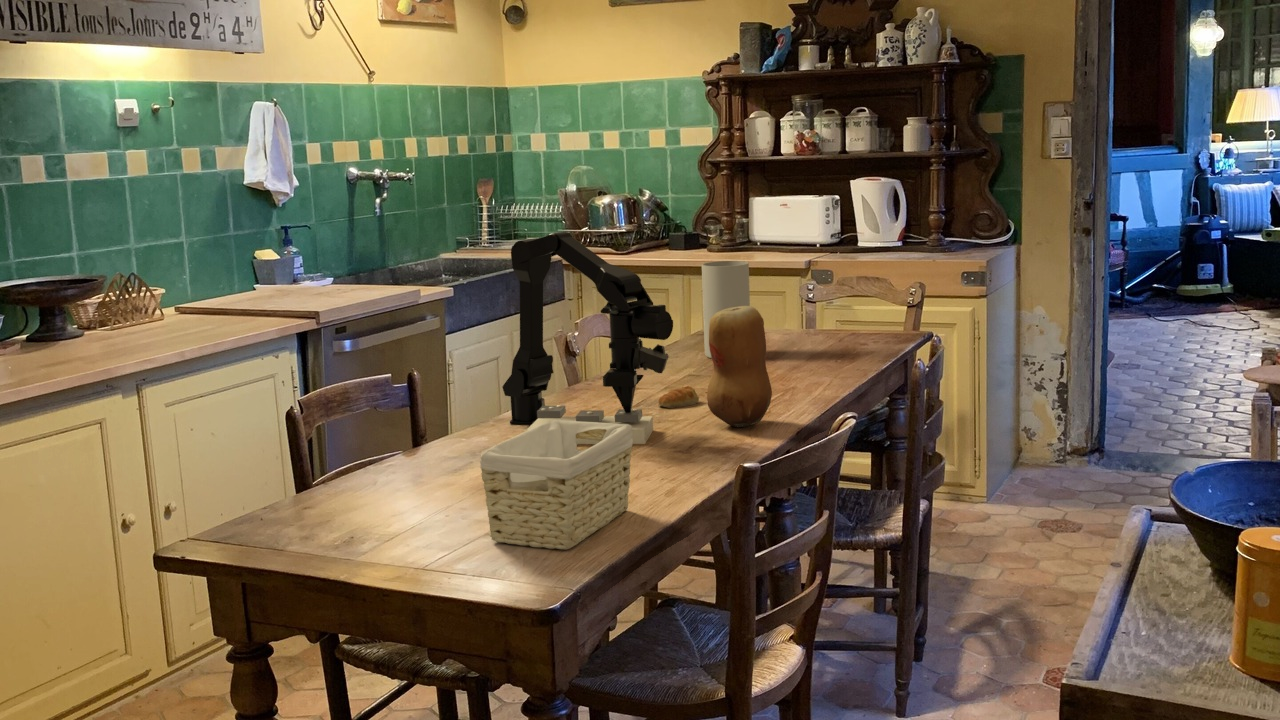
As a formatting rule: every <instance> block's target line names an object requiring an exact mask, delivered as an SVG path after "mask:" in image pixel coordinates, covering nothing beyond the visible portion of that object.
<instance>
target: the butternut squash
mask: <svg viewBox="0 0 1280 720" xmlns="http://www.w3.org/2000/svg"><path fill="white" fill-rule="evenodd" d="M764 321H765V320H764V318H763V317H762V315H761V313H760V311H759V310H758V309H757V308H756V307H753V306H751V305H750V306H740V307H732V308H727V309H724V310H722V311H720V312H717V313H716V314H715V315H713V316H712V318H711V320H710V324H709V347H710V353H711V357H712V359H711V360H712V363H713V364H712V365H713V372H712V374H711V376H710V379H709V382H708V385H707V391H706V399H707V407H708V409H709V410H710V412H711V413H712V414H713V415H714V416H715V417H716V418H718V419H719V420H721V421H723V422H724V423H725V424H726V425H729V426H731V427H734V428H741V427H744V428H745V427H749V425H750V426H752V425H755V424H758V423H760V422H761V420H762V419H763V418H764V416H765V415H766V413H767V411H768V409H769V407H770V404H771V401H772V398H773V397H772V395H773V390H772V389H773V388H772V385H771V381H770V377H769V373H768V370H767V363H766V362H767V361H766V357H767V356H766V354H767V353H766V352H767V341H766V332H765V326H764V325H765V322H764Z"/></svg>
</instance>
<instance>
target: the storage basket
mask: <svg viewBox="0 0 1280 720" xmlns="http://www.w3.org/2000/svg"><path fill="white" fill-rule="evenodd" d="M576 438H580V439H589V440H597V441H601V442H599V443H597V444H593V445H592V446H590V447H589V448H588V447H587V448H584V449H578V444H577V441H576ZM633 445H634V444H633V439H632V426H631V425H629V424H613V423H598V422H580V421H562V420H554V421H552V422H548V423H544V424H541V425H539V426H536V427H534V428H532V429H529V430H527V429H526V430H525V431H523V432H521V433H519V434H517V435H515V436H513V437H510V438H508V439H506V440H503V441H501V442H499V443H496V444H495V445H493V446H491V447H490V448H488V449H487V450H484V451H483V453H481V454H480V461H479V462H480V465H479V466H480V469H481V473H480V474H481V480H482V482H483V489H484V491H485V493H484V494H485V502H486V507H487V518H488V523H489V532H490V535H489V537H490V538H491V540H492V541H493V542H496V543H506V544H509V545H518V546H530V547H532V548H545V549H550V550H551V549H558V550H565V551H566V550H570V549H572V548H573V547H575V546H577V545H578V544H580V542H582V541H584V540H585V539H586V538H588V537H589V536H592V535H593V534H594V533H596V531H599V530H600V529H601V528H603V527H605V526H607V525H608V524H610V523H611V521H613V520H615V518H616V517H618V516H621V515H622V514H623V513H624V512H626V511H627V510H628V508H629V495H628V494H629V491H630V482H631V480H630V479H631V477H630V474H631V460H632V459H631V458H632V456H631V453H632V451H633V450H632V448H633Z"/></svg>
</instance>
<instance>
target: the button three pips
mask: <svg viewBox="0 0 1280 720" xmlns="http://www.w3.org/2000/svg"><path fill="white" fill-rule="evenodd" d="M566 409H567V408H566V405H560V404H559V405H558V404H557V405H545V406H542V407H541V408H540V409H539V410H538V411H537V418H561V417H564V415H565V414H566V412H567V410H566Z"/></svg>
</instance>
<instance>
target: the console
mask: <svg viewBox="0 0 1280 720" xmlns="http://www.w3.org/2000/svg"><path fill="white" fill-rule="evenodd" d="M653 418H654V416H653V415H649V416H648V415H647V416H646V415H642V418H641V419H640V421H639V422H615V415H614V416H613V415H612V416H611V415H610V416H607V415H606V416H605V415H604V418H603V419H602V421H601V422H600V423H613V424H629V425H631V426H632V439H633V444H632V445H645V444H646V443H647V442H648V439H649V438H650V437H651V434H652V433H653V431H654V419H653ZM554 420H562V421H576V416H562V417H561V418H538V419H537V420H536V421H535V422H534V423H533V424H530V426H529V427H527V428H526V431H527V430H529V429H532V428H534V427H536V426H539V425H541V424H544V423H548V422H552V421H554ZM576 441H577V445H596V444H597V443H599V442H601V441H597V440H589V439H580V438H576Z"/></svg>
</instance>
